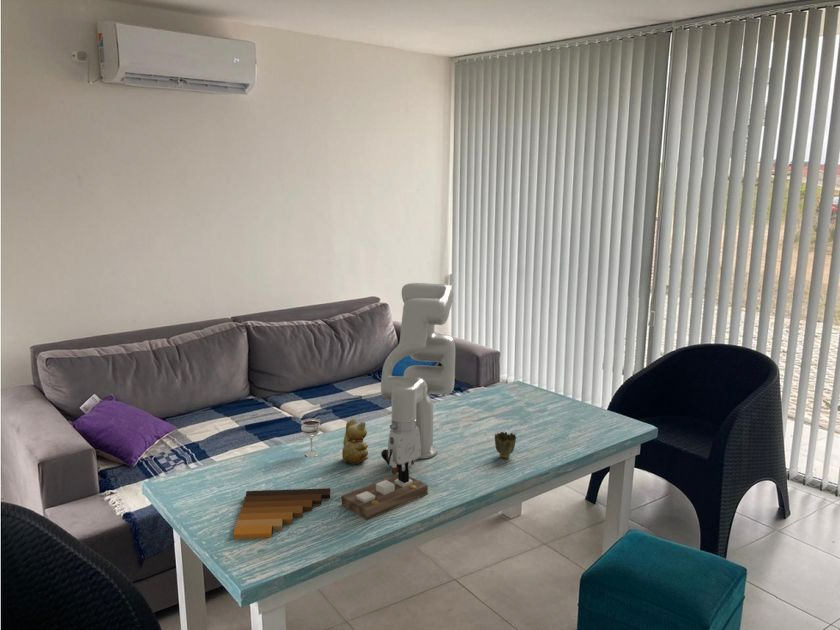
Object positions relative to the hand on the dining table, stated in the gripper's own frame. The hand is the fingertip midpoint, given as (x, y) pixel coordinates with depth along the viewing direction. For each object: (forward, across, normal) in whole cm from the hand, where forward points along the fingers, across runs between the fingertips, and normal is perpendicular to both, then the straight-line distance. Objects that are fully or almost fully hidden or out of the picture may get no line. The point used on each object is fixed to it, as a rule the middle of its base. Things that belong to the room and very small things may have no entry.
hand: (403, 480), depth 217 cm
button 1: (+3, -15, 0) cm, 15 cm away
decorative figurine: (+4, +3, +28) cm, 29 cm away
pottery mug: (+4, +10, +14) cm, 18 cm away
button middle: (+1, -7, 0) cm, 7 cm away
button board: (+4, -7, 0) cm, 8 cm away
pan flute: (+5, -35, +12) cm, 37 cm away
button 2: (+3, 0, 0) cm, 3 cm away
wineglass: (+4, -4, +43) cm, 43 cm away
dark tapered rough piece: (+4, +44, -4) cm, 44 cm away
